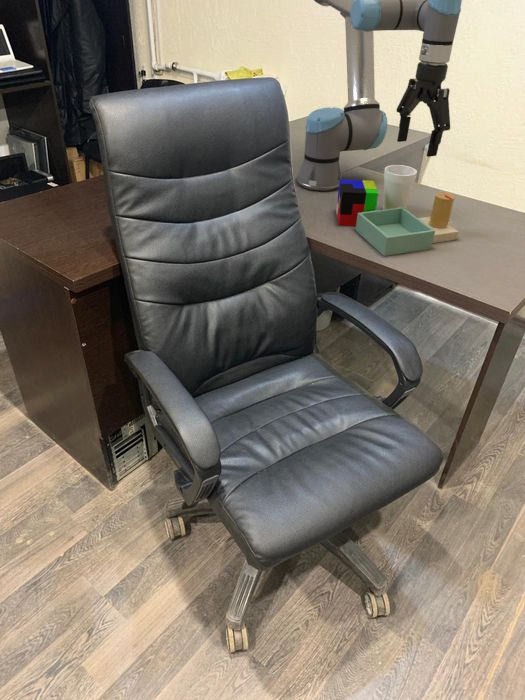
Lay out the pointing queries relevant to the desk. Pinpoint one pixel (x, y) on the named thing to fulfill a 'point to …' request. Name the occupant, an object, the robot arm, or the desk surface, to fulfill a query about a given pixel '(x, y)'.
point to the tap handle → (441, 210)
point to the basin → (394, 231)
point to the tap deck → (442, 232)
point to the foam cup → (397, 185)
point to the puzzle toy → (355, 200)
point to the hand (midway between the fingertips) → (416, 148)
